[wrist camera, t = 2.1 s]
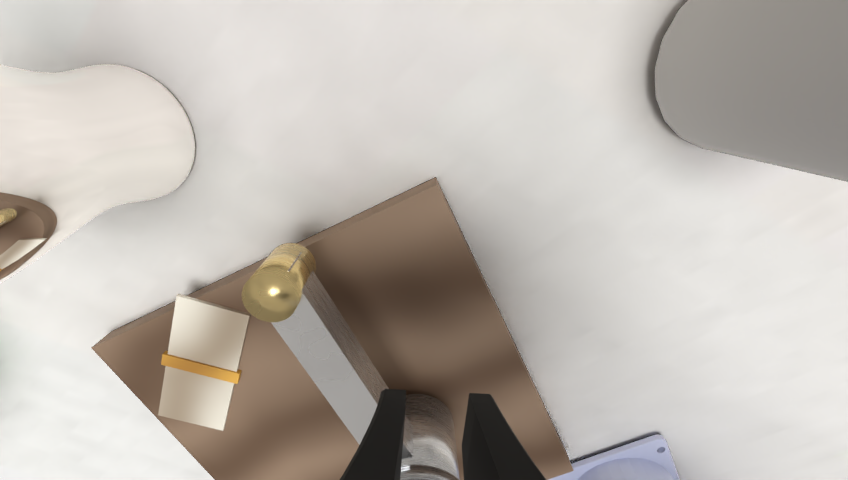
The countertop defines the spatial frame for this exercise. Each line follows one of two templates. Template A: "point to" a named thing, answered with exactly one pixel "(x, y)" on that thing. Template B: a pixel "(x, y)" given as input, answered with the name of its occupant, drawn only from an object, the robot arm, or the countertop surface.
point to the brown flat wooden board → (372, 326)
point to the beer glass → (82, 152)
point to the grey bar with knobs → (345, 361)
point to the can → (760, 81)
